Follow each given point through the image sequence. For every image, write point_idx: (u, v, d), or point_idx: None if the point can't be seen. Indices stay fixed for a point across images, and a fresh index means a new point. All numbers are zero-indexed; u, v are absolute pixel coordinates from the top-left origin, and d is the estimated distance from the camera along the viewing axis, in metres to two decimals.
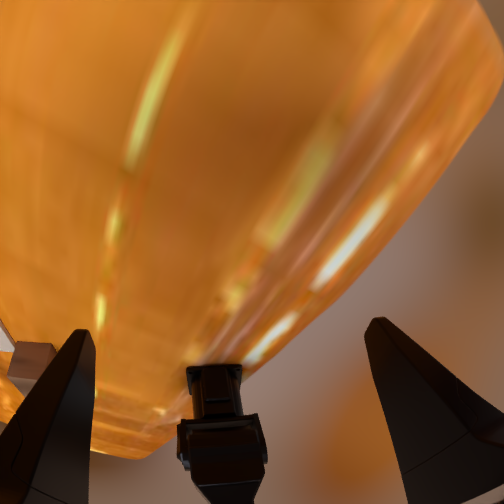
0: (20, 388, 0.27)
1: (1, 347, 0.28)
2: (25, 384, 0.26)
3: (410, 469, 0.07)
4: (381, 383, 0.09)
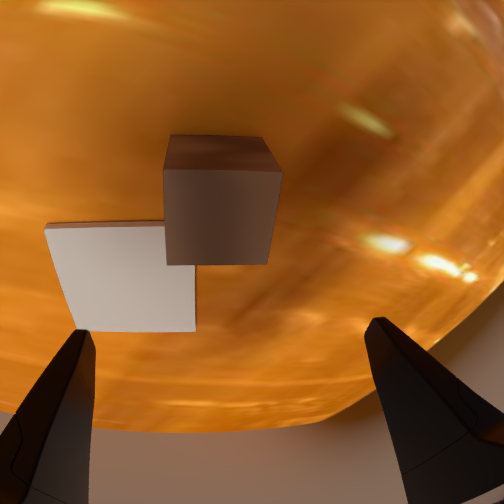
0: (221, 257, 0.16)
1: None
2: (196, 232, 0.15)
3: (410, 469, 0.07)
4: (381, 383, 0.09)
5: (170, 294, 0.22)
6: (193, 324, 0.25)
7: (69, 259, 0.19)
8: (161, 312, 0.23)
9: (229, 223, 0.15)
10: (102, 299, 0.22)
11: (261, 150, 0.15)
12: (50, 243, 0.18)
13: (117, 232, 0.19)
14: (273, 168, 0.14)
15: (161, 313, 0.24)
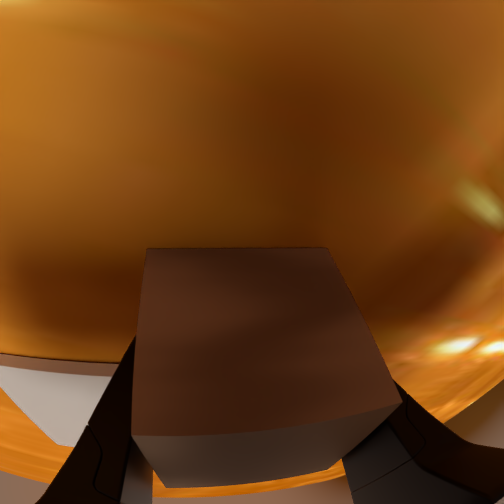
0: (257, 480, 0.08)
1: None
2: (215, 473, 0.06)
3: (358, 488, 0.07)
4: None
5: None
6: None
7: (24, 394, 0.11)
8: None
9: (278, 462, 0.06)
10: (80, 429, 0.14)
11: (341, 307, 0.07)
12: None
13: (82, 379, 0.11)
14: (381, 388, 0.06)
15: None
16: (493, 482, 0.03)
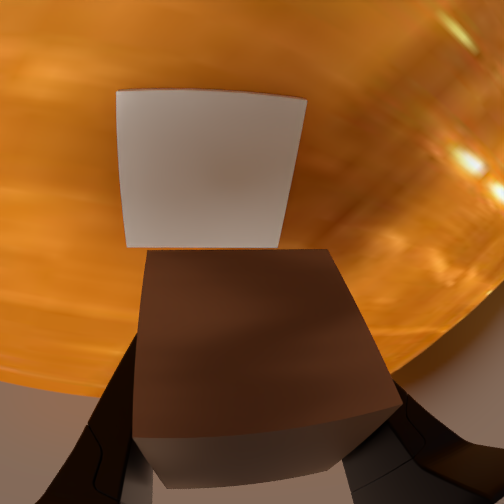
0: (257, 480, 0.08)
1: (286, 136, 0.17)
2: (216, 474, 0.06)
3: (358, 488, 0.07)
4: None
5: (261, 190, 0.19)
6: (277, 237, 0.21)
7: (140, 134, 0.16)
8: (243, 217, 0.20)
9: (278, 463, 0.06)
10: (172, 196, 0.18)
11: (342, 309, 0.07)
12: (120, 112, 0.15)
13: (215, 98, 0.15)
14: (381, 390, 0.06)
15: (243, 218, 0.20)
16: (493, 482, 0.03)
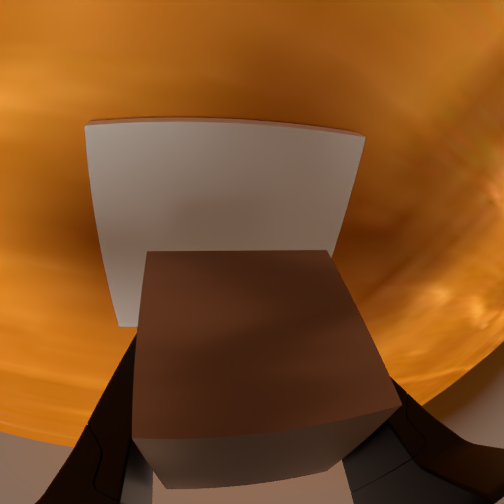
0: (257, 480, 0.08)
1: (335, 187, 0.12)
2: (215, 475, 0.06)
3: (358, 488, 0.07)
4: None
5: None
6: None
7: (124, 188, 0.11)
8: None
9: (278, 464, 0.06)
10: None
11: (341, 309, 0.07)
12: (92, 156, 0.10)
13: (235, 134, 0.10)
14: (381, 391, 0.06)
15: None
16: (493, 482, 0.03)
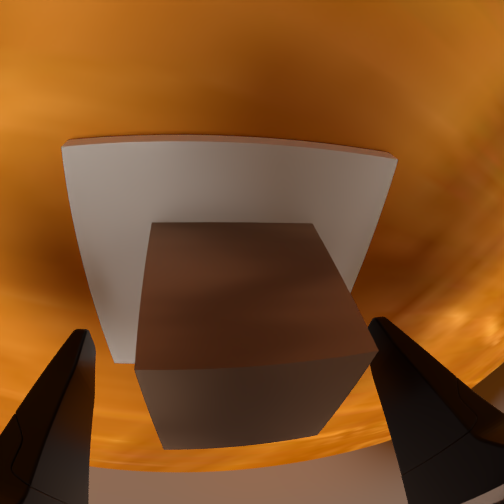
0: (250, 441, 0.09)
1: (360, 216, 0.10)
2: (210, 427, 0.08)
3: (410, 469, 0.07)
4: (381, 383, 0.09)
5: None
6: None
7: (112, 221, 0.09)
8: None
9: (268, 415, 0.08)
10: None
11: (323, 270, 0.08)
12: (72, 183, 0.08)
13: (245, 156, 0.09)
14: (358, 338, 0.07)
15: None
16: None
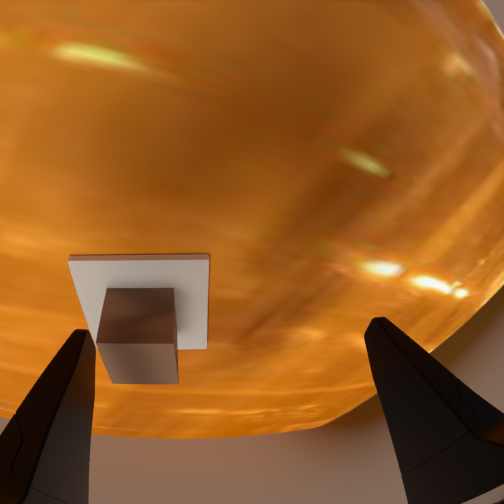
0: (146, 381, 0.21)
1: (197, 284, 0.23)
2: (126, 370, 0.20)
3: (410, 469, 0.07)
4: (381, 383, 0.09)
5: (185, 317, 0.25)
6: (205, 342, 0.27)
7: (91, 287, 0.21)
8: None
9: (146, 366, 0.20)
10: None
11: (167, 311, 0.21)
12: (73, 273, 0.20)
13: (137, 265, 0.21)
14: (168, 338, 0.19)
15: None
16: None
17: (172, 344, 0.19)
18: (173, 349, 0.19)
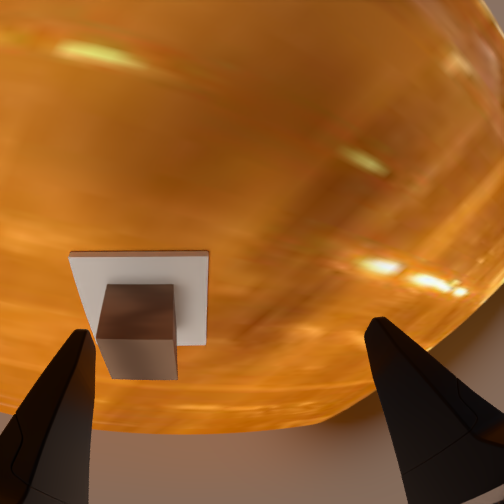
0: (145, 376, 0.21)
1: (196, 280, 0.23)
2: (125, 365, 0.20)
3: (410, 469, 0.07)
4: (381, 383, 0.09)
5: (184, 313, 0.25)
6: (204, 338, 0.27)
7: (91, 283, 0.22)
8: None
9: (145, 362, 0.20)
10: None
11: (166, 307, 0.21)
12: (74, 269, 0.21)
13: (137, 261, 0.21)
14: (167, 334, 0.19)
15: None
16: None
17: (171, 340, 0.19)
18: (172, 345, 0.19)
